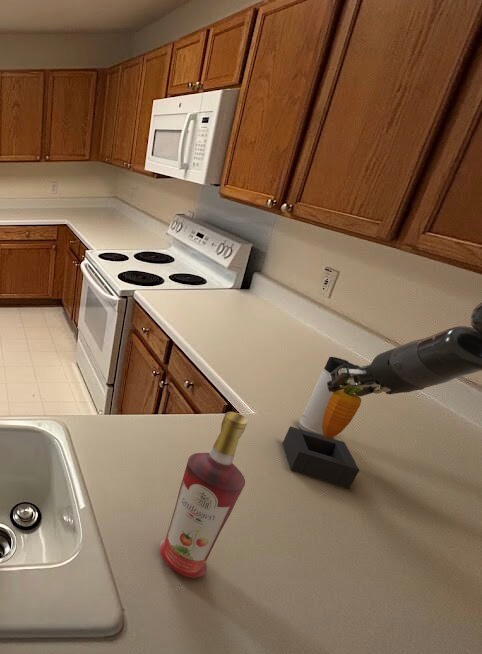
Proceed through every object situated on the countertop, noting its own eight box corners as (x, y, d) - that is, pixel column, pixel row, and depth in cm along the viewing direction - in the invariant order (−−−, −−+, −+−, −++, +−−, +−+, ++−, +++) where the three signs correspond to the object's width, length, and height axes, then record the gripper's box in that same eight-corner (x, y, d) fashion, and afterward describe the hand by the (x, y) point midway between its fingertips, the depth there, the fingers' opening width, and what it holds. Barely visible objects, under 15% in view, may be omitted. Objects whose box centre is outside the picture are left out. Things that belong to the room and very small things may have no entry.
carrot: (306, 433, 89) (335, 372, 84) (320, 430, 91) (349, 370, 86) (331, 447, 85) (363, 385, 80) (346, 444, 87) (378, 382, 82)
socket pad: (335, 459, 93) (344, 441, 91) (349, 489, 84) (359, 470, 83) (282, 443, 97) (290, 426, 95) (290, 470, 88) (299, 451, 87)
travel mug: (291, 424, 105) (322, 355, 97) (309, 421, 107) (341, 353, 99) (316, 440, 99) (351, 368, 92) (334, 436, 101) (370, 366, 94)
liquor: (212, 564, 66) (274, 420, 55) (195, 594, 61) (260, 443, 50) (167, 534, 70) (216, 396, 60) (148, 559, 66) (198, 414, 55)
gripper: (459, 351, 70) (377, 377, 86) (366, 338, 73) (303, 366, 88) (471, 393, 68) (384, 413, 83) (374, 379, 70) (307, 400, 85)
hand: (343, 389), depth 86 cm, fingers closed on carrot, 4 cm apart
